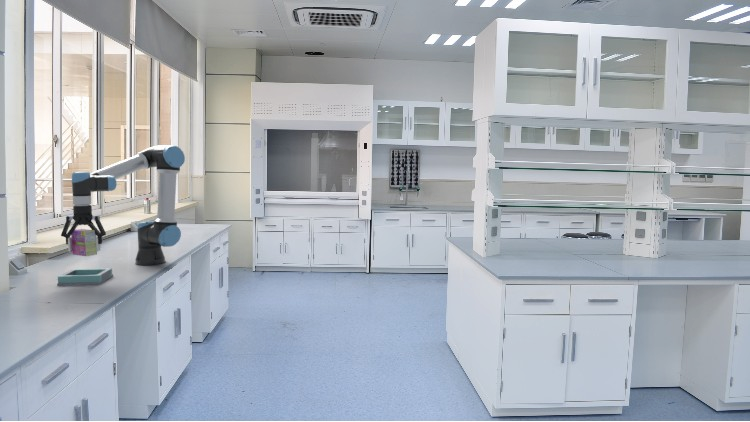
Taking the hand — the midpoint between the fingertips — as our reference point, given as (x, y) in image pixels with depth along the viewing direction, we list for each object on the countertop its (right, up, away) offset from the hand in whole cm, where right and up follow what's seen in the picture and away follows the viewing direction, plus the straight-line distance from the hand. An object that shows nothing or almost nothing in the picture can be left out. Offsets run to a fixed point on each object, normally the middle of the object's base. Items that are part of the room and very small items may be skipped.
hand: (84, 251), depth 246 cm
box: (0, -2, 0) cm, 2 cm away
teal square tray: (0, -14, +2) cm, 14 cm away
